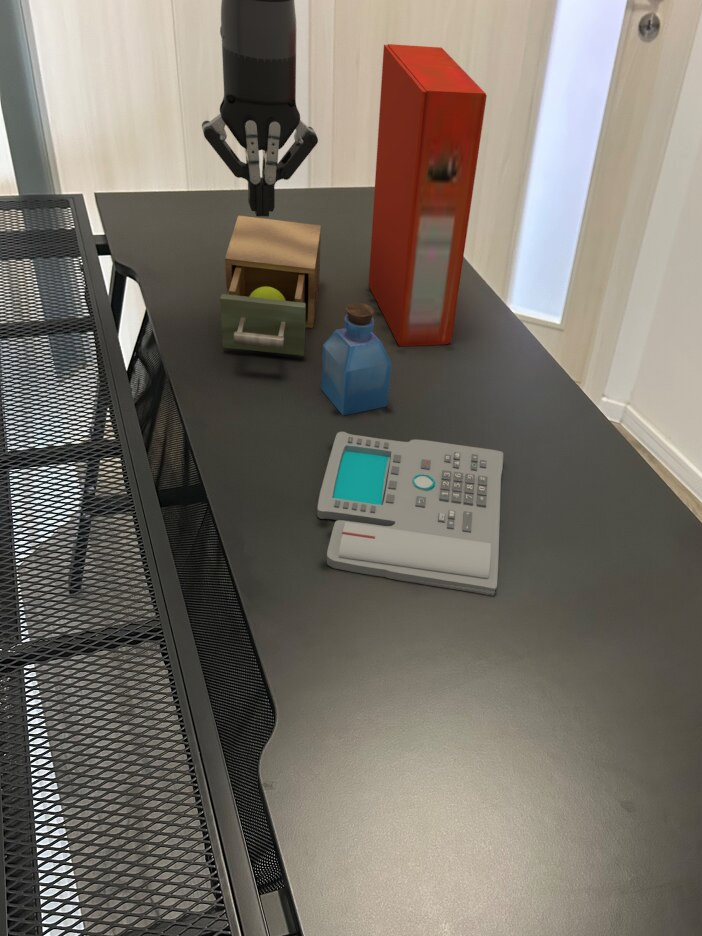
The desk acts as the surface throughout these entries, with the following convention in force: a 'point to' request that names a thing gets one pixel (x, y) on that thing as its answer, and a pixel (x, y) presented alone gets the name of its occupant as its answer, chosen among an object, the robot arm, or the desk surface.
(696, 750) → the desk surface
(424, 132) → the file binder
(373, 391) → the perfume bottle
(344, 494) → the office telephone
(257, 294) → the ball
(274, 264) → the cabinet
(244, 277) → the drawer
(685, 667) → the desk surface
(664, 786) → the desk surface
